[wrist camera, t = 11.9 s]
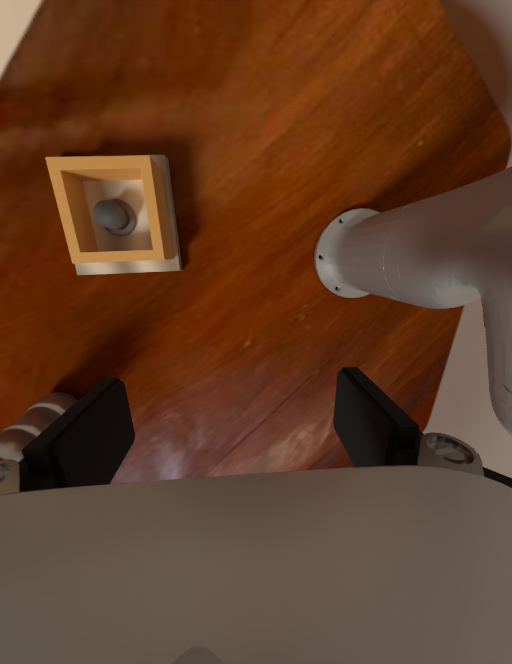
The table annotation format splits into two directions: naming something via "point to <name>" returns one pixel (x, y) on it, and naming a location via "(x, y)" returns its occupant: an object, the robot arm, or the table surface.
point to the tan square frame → (75, 208)
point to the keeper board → (142, 226)
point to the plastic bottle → (33, 424)
